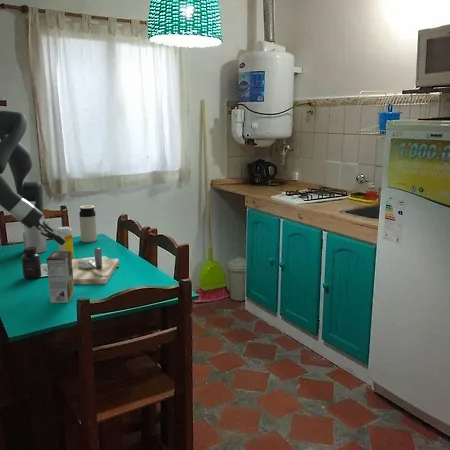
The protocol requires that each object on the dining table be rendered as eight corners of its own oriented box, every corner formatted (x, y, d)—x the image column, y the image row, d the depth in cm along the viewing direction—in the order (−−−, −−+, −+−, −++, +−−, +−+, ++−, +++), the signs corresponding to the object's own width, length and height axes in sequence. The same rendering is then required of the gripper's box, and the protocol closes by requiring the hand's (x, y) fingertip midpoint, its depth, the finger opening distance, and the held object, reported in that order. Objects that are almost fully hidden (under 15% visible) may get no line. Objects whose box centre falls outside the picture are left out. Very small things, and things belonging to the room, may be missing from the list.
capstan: (75, 264, 199) (74, 240, 196) (97, 261, 203) (95, 237, 201) (90, 278, 181) (88, 252, 179) (113, 274, 186) (111, 248, 184)
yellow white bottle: (76, 258, 215) (73, 226, 211) (70, 262, 209) (68, 229, 205) (63, 258, 215) (60, 226, 212) (57, 262, 209) (54, 229, 206)
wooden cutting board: (52, 284, 181) (52, 278, 181) (72, 263, 208) (72, 258, 207) (106, 284, 182) (106, 278, 181) (119, 263, 208) (119, 258, 208)
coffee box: (56, 293, 172) (53, 250, 168) (74, 293, 172) (71, 250, 169) (49, 303, 163) (45, 258, 159) (68, 302, 163) (65, 257, 160)
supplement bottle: (45, 275, 192) (42, 246, 189) (33, 280, 185) (30, 251, 183) (31, 273, 194) (28, 245, 191) (19, 278, 187) (16, 249, 185)
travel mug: (100, 239, 249) (98, 205, 245) (90, 243, 242) (87, 208, 238) (88, 238, 252) (86, 204, 248) (77, 241, 245) (75, 207, 241)
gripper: (31, 208, 168) (70, 240, 174) (34, 202, 180) (70, 232, 186) (16, 224, 168) (56, 255, 174) (21, 217, 180) (57, 246, 186)
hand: (63, 243), depth 180 cm, fingers closed
